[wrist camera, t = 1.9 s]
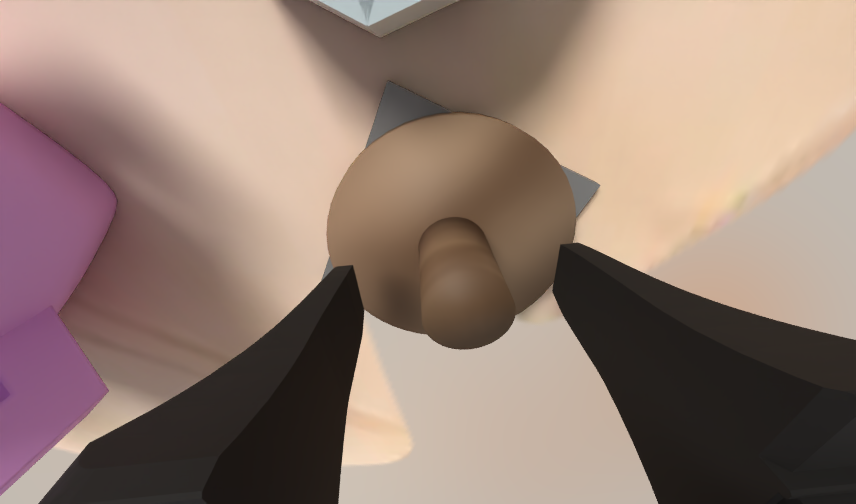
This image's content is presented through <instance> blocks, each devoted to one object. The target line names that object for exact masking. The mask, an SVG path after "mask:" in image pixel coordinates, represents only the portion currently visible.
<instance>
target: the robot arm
mask: <svg viewBox="0 0 856 504" xmlns="http://www.w3.org/2000/svg"><path fill="white" fill-rule="evenodd" d="M552 291H553V294H554V296H555V298H556V301H557V303H558V305H559V308H560V310H561V312H562V314H563V316H564V318H565V319H566V321H567V322H568V324H569V326H570V327H571V329H572V331H573V332H574V334H575V336H576V337H577V339H578V340H579V342H580V343H581V345H582V347H583V348H584V350H585V351H586V353H587V355H588V356H589V358H590V359H591V361H592V362H593V364H594V366H595V367H596V369H597V371H598V372H599V374H600V376H601V378H602V379H603V381H604V383H605V385H606V387H607V389H608V391H609V393H610V395H611V397H612V398H613V401H614V403H615V405H616V407H617V409H618V411H619V413H620V415H621V417H622V420H623V422H624V424H625V426H626V428H627V431H628V432H629V435H630V437H631V439H632V441H633V444H634V446H635V448H636V451H637V453H638V455H639V458H640V460H641V462H642V465H643V467H644V469H645V472H646V474H647V476H648V479H649V481H650V483H651V486H652V489H653V491H654V494H655V496H656V499H657V501H658V504H856V340H853V339H848V338H844V337H839V336H835V335H831V334H827V333H823V332H819V331H815V330H811V329H807V328H802V327H799V326H795V325H791V324H787V323H784V322H780V321H776V320H773V319H769V318H766V317H762V316H759V315H756V314H752V313H749V312H745V311H742V310H739V309H736V308H732V307H729V306H727V305H723V304H720V303H718V302H715V301H712V300H709V299H706V298H703V297H701V296H698V295H695V294H692V293H689V292H687V291H684V290H682V289H679V288H677V287H675V286H672V285H670V284H667V283H665V282H662V281H660V280H658V279H656V278H653V277H651V276H649V275H647V274H645V273H642V272H640V271H638V270H636V269H634V268H632V267H630V266H627V265H625V264H623V263H621V262H619V261H617V260H615V259H613V258H611V257H609V256H607V255H605V254H603V253H601V252H598V251H596V250H594V249H592V248H590V247H588V246H585V245H583V244H580V243H570V244H560V249H559V255H558V261H557V267H556V273H555V278H554V284H553V290H552ZM363 320H364V307H363V303H362V299H361V295H360V291H359V287H358V283H357V279H356V275H355V271H354V267H353V265H347V266H337V267H335V268H333V269H332V270H331V271H330V273H329V274H328V275H327V276H326V277H325V278H324V279H323V280H322V281H321V282H320V283H319V284H318V285H317V286H316V287H315V288H314V289H313V290H312V291H311V292H310V294H309V295H308V296H307V297H306V298H305V299H304V300H303V301H302V302H301V303H300V304H299V305H298V306H297V307H295V308H294V309H293V310H292V311H291V312H290V313H289V314H288V315H287V316H286V317H285V318H284V319H283V320H282V321H280V322H279V323H278V324H277V325H276V326H275V327H274V328H273V329H271V330H270V331H269V332H268V333H267V334H265V335H264V336H263V337H262V338H260V339H259V340H258V341H257V342H255V343H254V344H253V345H252V346H250V347H249V348H248V349H246V350H245V351H244V352H242V353H241V354H239V355H238V356H237V357H235V358H234V359H232V360H231V361H229V362H228V363H226V364H225V365H224V366H222V367H221V368H219V369H218V370H216V371H215V372H213V373H212V374H211V375H209V376H207V377H206V378H204V379H203V380H201V381H200V382H198V383H196V384H195V385H193V386H192V387H190V388H188V389H187V390H185V391H183V392H182V393H180V394H178V395H177V396H175V397H173V398H172V399H170V400H168V401H167V402H165V403H163V404H161V405H160V406H158V407H156V408H154V409H153V410H151V411H149V412H147V413H145V414H143V415H141V416H140V417H138V418H136V419H134V420H132V421H130V422H128V423H126V424H125V425H123V426H121V427H119V428H117V429H115V430H113V431H111V432H110V433H108V434H106V435H104V436H102V437H100V438H98V439H96V440H94V441H92V442H90V443H89V444H88V445H87V446H86V447H85V449H84V450H83V451H82V452H81V453H80V455H79V456H78V457H77V458H76V459H75V461H74V462H73V463H72V464H71V465H70V467H69V468H68V469H67V470H66V471H65V473H64V474H63V475H62V476H61V477H60V479H59V480H58V481H57V482H56V483H55V485H54V486H53V487H52V488H51V489H50V490H49V492H48V493H47V494H46V495H45V496H44V498H43V499H42V500H41V501H40V502H39V504H338V498H339V486H340V474H341V464H342V453H343V442H344V433H345V424H346V415H347V407H348V402H349V396H350V391H351V386H352V382H353V377H354V372H355V368H356V363H357V358H358V354H359V349H360V344H361V339H362V333H363Z"/></svg>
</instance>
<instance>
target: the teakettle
mask: <svg viewBox="0 0 856 504" xmlns="http://www.w3.org/2000/svg"><path fill="white" fill-rule="evenodd" d="M116 206H117V199H116V197H115V194H114V192H113V191H112V190H111V189H110V187H109V186H108V185H107V184H106V183H105V182H104V181H103V180H102V179H101V178H100V177H99V176H98V175H97V174H95V173H94V172H93V171H92V170H91V169H90V168H89V167H88V166H86V165H85V164H84V163H82V162H81V161H80V160H79V159H77V158H76V157H75V156H73V155H72V154H71V153H69V152H68V151H67V150H65V149H64V148H63V147H62V146H60V145H59V144H58V143H56V142H55V141H54V140H52V139H51V138H49V137H48V136H47V135H45V134H44V133H42V132H41V131H40V130H38V129H37V128H35V127H34V126H33V125H31V124H30V123H28V122H27V121H26V120H24V119H23V118H21V117H20V116H19V115H17V114H16V113H15V112H13V111H12V110H10V109H9V108H7V107H6V106H5V105H3V104H2V103H0V496H1V495H2V494H3V493H4V492H5V491H6V490H7V489H8V488H9V487H10V486H11V485H13V483H15V482H16V481H17V480H18V479H19V478H20V477H21V476H22V475H23V474H24V473H25V472H27V471H28V470H29V469H30V468H31V467H32V466H33V465H34V464H35V463H36V462H37V461H38V460H40V459H41V458H42V457H43V456H44V455H45V454H46V453H47V452H48V451H49V450H50V449H51V448H52V447H54V446H55V445H56V444H57V443H58V442H59V441H60V440H61V439H62V438H63V437H64V436H65V435H66V434H68V433H69V432H70V431H71V430H72V429H73V428H74V427H75V426H76V425H77V424H78V423H79V422H80V421H82V420H83V419H84V418H85V417H86V416H87V415H88V414H89V413H90V412H91V410H92V409H93V408H94V407H95V406H96V405H97V404H98V403H99V402H100V400H101V399H102V398H103V397H104V396H105V395H106V394H107V393H108V392H109V390H108V388H107V387H106V385H105V384H104V382H103V381H102V379H101V378H100V376H99V375H98V373H97V372H96V370H95V369H94V367H93V366H92V364H91V363H90V361H89V360H88V359H87V357H86V356H85V354H84V353H83V351H82V350H81V348H80V347H79V345H78V344H77V342H76V341H75V339H74V338H73V336H72V335H71V333H70V332H69V330H68V329H67V327H66V326H65V324H64V323H63V321H62V320H61V318H60V317H59V315H58V313H59V311H60V310H61V309H62V307H63V306H64V304H65V303H66V302H67V300H68V299H69V297H70V296H71V294H72V293H73V291H74V290H75V288H76V287H77V285H78V283H79V282H80V280H81V279H82V277H83V276H84V274H85V272H86V270H87V269H88V267H89V265H90V263H91V262H92V260H93V258H94V256H95V254H96V252H97V250H98V248H99V247H100V245H101V243H102V241H103V239H104V237H105V235H106V233H107V231H108V229H109V226H110V224H111V222H112V219H113V217H114V215H115V212H116Z"/></svg>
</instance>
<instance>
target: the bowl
mask: <svg viewBox="0 0 856 504" xmlns="http://www.w3.org/2000/svg"><path fill="white" fill-rule="evenodd" d="M309 1H311V2H313V3H315V4H316V5H318V6H320V7H322V8H324V9H326V10H328V11H330V12H332V13H334V14H336V15H337V16H339V17H341V18H343V19H345V20H347V21H349V22H351V23H353V24H355V25H357V26H358V27H360V28H362V29H364V30H366V31H368V32H370V33H372V34H374V35H376V36H378V37H379V38H381V37H383V36H385V35H387V34H390V33H392V32H394V31H396V30H398V29H400V28H402V27H404V26H406V25H408V24H411V23H413V22H415V21H417V20H419V19H421V18H423V17H425V16H427V15H430V14H432V13H434V12H436V11H438V10H440V9H442V8H444V7H446V6H448V5H451V4H453V3H455V2H457V1H459V0H309Z"/></svg>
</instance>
